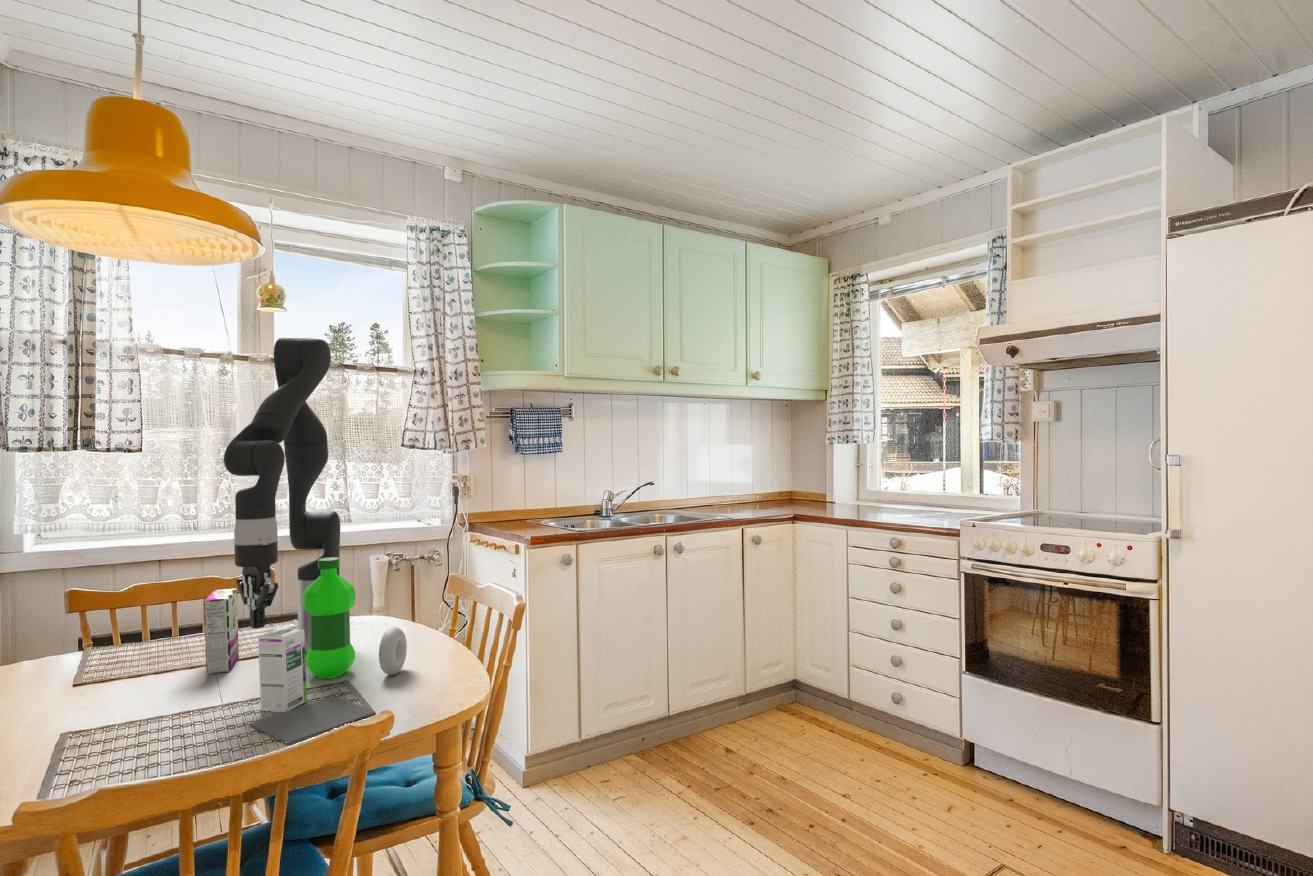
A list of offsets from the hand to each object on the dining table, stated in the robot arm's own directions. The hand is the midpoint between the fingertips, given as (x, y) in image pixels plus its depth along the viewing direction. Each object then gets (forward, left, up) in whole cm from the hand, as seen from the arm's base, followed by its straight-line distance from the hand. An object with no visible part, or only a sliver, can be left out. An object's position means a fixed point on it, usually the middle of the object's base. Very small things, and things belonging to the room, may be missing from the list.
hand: (257, 627), depth 143 cm
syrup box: (+10, 0, -14) cm, 17 cm away
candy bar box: (-26, +4, -14) cm, 30 cm away
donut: (+11, +23, -14) cm, 29 cm away
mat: (+21, 0, -14) cm, 25 cm away
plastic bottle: (0, +15, -14) cm, 20 cm away
